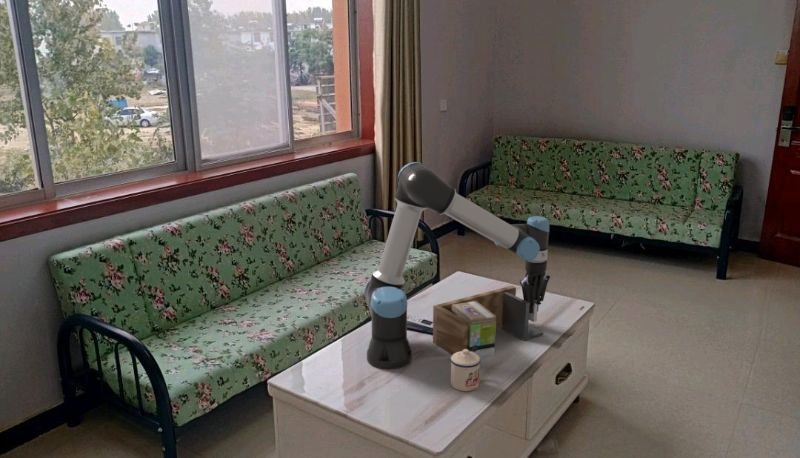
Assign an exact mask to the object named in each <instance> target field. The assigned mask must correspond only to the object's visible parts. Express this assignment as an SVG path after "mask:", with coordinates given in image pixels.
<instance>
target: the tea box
mask: <svg viewBox="0 0 800 458" xmlns="http://www.w3.org/2000/svg"><path fill="white" fill-rule="evenodd" d="M452 313H454V314H455V315H457V316H459V317H460V318H462V319H464V320H466V321H467V322H468V341H467V350H469V352H473V353H475V354H477V355H478V356H479V357H480V360H481V359H487V358H492V357H494V356H495V352H496V351H495V350H496V349H495V348H496V334H497V333H496V331H497V330H496V329H497V327H496V316H495V315H494V314H492V313H491V312H490V311H488V310H487V309H486V308H485V307H483V306H482V305H481V304H479V303H478V302H477V301H473V302H467V303H460V304H453V305H452Z"/></svg>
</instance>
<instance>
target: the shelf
mask: <svg viewBox="0 0 800 458" xmlns="http://www.w3.org/2000/svg"><path fill="white" fill-rule="evenodd" d="M505 292H508V293H510V294H512V295H514V296H516V294H517V287H516V286H514V285H509V286H506V287H501V288H497V289H492V290H489V291H487V292H483V293H479V294H474V295H470V296H467V297H462V298H457V299H454V300H451V301H447V302H442V303H440V304H439V303H438V304H436V305H433V309H432V310H433V312H432V343H433V344H434V345H436V346H437V347H439V348H441V350H443V351H444V352H446V353H447V354H450V355H451V356H452V355H453V354H454V353H456V352H460V351H463V350H464V349H467V341H468V322H467V321H466V320H464V319H462V318H460V317H459V316H457V315H455V314H454V313H452V305H453V304H460V303H467V302H473V301H477V302H478V303H479V304H481V305H482V306H483V307H485V308H486V309H487V310H488V311H490V312H491V313H492V314H494V315H495V316H496V328H498V327H502V314H503V293H505ZM516 297H517V296H516Z"/></svg>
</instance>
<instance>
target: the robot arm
mask: <svg viewBox="0 0 800 458" xmlns="http://www.w3.org/2000/svg"><path fill="white" fill-rule="evenodd" d="M394 200H395V201H396V203H397V205H396V209H395V211H394V214H393V215H394V216H393V218H392V221H391V225H390V228H389V231H388V236H387V239H386V241H385V246H384V250H383V252H382V256H381V258H380V262H379V266H378V269H376V270H374V271H372V275H371V276H370V279H369V280H368V281H367V282H366V285H365V288H364V295H363V296H364V299H365V303H366V305H367V308H368V310H369V313H370V316H371V318H370V319H371V339H370V342H369V344H368V347H367V351H366V360H367V363H368V364H370V365H371V366H372V367H375V368H379V369H383V370H385V369H386V370H394V369H400V368H404V367H405V366H408V365H409V364H410V363H411V362H412V359H413V351H412V348H411V345H410V342H409V339H408V331H407V330H408V322H407V321H408V298H407V294H406V293H405V292H404V291H403V289H404V286H405V282H406V281H405V279H404V277H403V274H404V271H405V268H406V264H407V261H408V258H409V256H410V255H409V254H410V252H411V248H412V245H413V241H414V239H415V236H416V232H417V229H418V226H419V222H420V218H421V216H422V213H423V211H424V210H427V209H428V210H431V212H434V213H435V214H438V215H440V216H441V215H445V216H448V217H450V218H451V219H453V220H455V221H456V222H459V223H460V224H462V225H463V226H465V227H467V228H469V229H471V230H472V231H474V232H476V233H477V234H480V235H481V236H483V237H485V238H486V239H489V240H490V241H492V242H494V244H495V246H496V247H503V248H505V249H506V250H507V251H509V252H511V253H513V254H515V255H516V256H517V257H518V258H519V259H522V260H523V261H525V263H524V264H525V266H524V268H525V271H526V272H525V275H524V279H520V280H519V284H520V285H521V291H522V299H523V300H525V301H527V302H529V303H530V306H529V321H531V322H533V323H534V322H537V321H538V320H537V319H538V311H539V306H541V304H542V302H544V299H545V295H546V290H547V287H548V283H549V281H550V279H551V276H550V275H548V274H546V272H547V265H548V261H547V260H548V249H549V236H550V220H549V219H548V218H546V217H544V216H541V215H540V216H539V215H537V216H536V215H535V216H534V215H533V216H529V217H528V219H527V221H526V223H516V224H515V223H514V224H513V223H512V224H510V223H508V222H506V221H505V220H503V219H501V218H500V217H498V216H496V215H495V214H493V213H491V212H489V211H487V210H486V209H484V208H482V207H481V206H479V205H477V204H476V203H474V202H472V201H470V200H469V199H467V198H465V197H464V196H462V195H460V194H458V193H457V190H456V188H455V187H453V186H451V185H450V184H448V183H447V182H445V181H444V180H443V179H442V178H441V177H440V176H439V175H438V174H437V173H436V172H435V171H433V170H432V169H431V167H429V166H428V165H427V164H424V163H422V162H419V161H418V162H417V161H413V162H409V163H407V164H405V165H404V166H403V167H401V169H400V170H399V171H398V175H397V189H396V193H395V196H394Z"/></svg>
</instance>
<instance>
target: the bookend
mask: <svg viewBox="0 0 800 458" xmlns="http://www.w3.org/2000/svg"><path fill="white" fill-rule="evenodd" d="M529 306H530V303H529V302H527V301H525V300H524V299H523V298H520V297H519V296H514V295H512V294H510V293H508V292H505V293H503V314H502V326H501V328H502V329H503V330H504V331H506V332H508V333H510V334H512V335H514V336H516V337H517V338H519V339H521V340H523V341H526V340H530V339H533V338H536V337H539V336H542V335H544V332H543V331H541V330H539V329H538V328H536V327H534V326H532V325H530V324H529V321H530V320H529Z"/></svg>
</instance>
